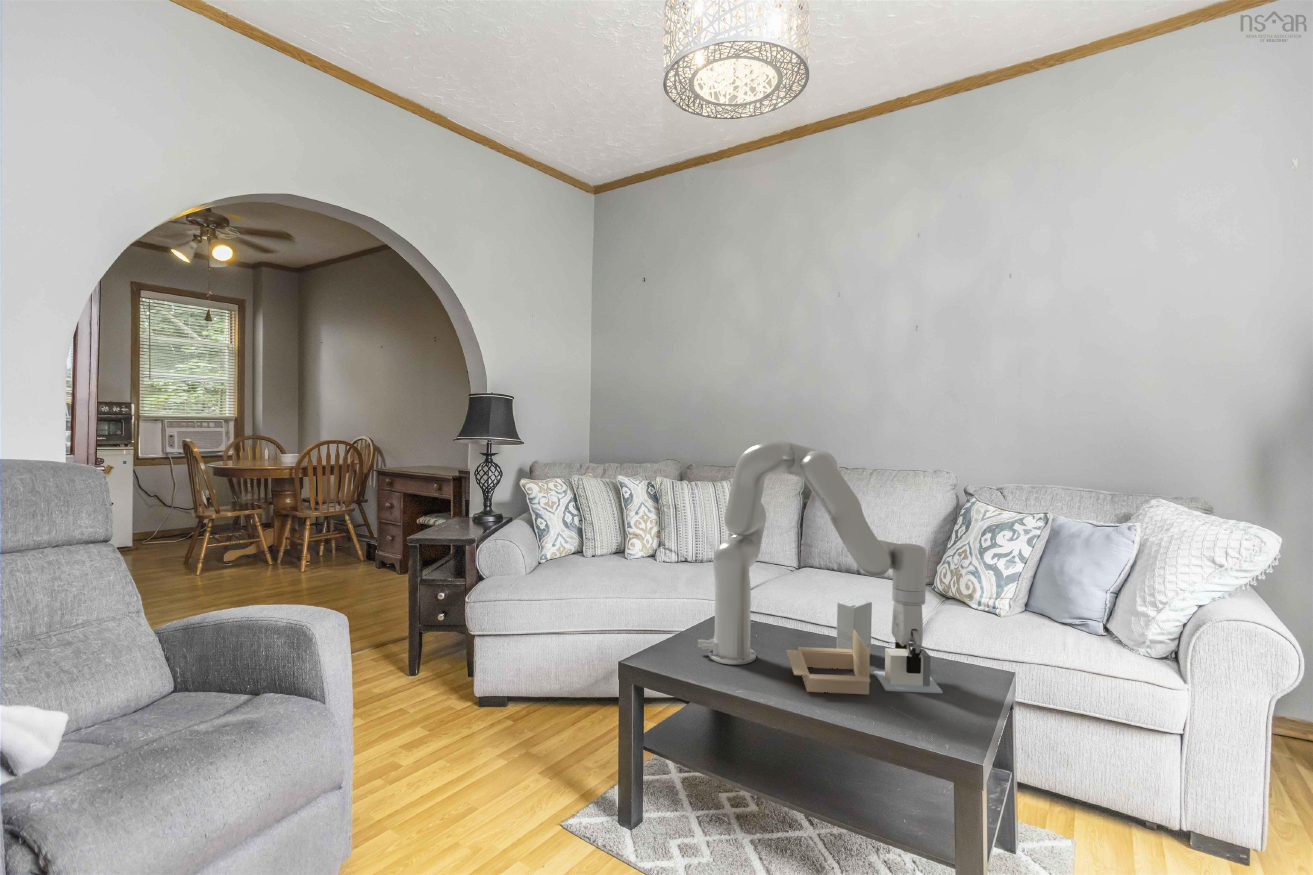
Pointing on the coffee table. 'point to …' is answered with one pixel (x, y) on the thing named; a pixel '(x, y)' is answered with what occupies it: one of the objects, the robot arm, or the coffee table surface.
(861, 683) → the carton
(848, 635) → the skincare box
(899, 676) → the box
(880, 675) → the felt mat
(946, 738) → the coffee table surface
